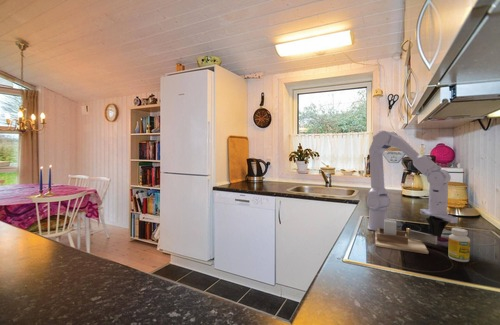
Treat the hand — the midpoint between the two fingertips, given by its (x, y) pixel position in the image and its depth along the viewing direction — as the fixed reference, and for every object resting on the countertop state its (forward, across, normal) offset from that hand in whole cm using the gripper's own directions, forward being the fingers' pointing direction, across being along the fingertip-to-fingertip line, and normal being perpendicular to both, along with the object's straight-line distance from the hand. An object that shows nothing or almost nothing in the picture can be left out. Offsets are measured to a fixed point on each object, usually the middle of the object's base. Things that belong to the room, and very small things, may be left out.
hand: (436, 237), depth 95 cm
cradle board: (+2, -2, -14) cm, 14 cm away
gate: (+1, 0, -6) cm, 7 cm away
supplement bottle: (+3, +14, -5) cm, 15 cm away
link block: (+2, -4, -16) cm, 17 cm away
